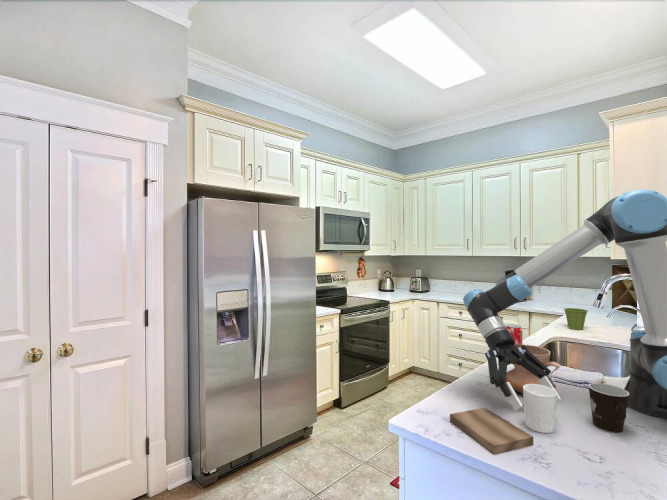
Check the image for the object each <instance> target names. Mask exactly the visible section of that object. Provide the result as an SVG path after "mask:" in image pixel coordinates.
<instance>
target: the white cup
mask: <svg viewBox="0 0 667 500" xmlns="http://www.w3.org/2000/svg"><path fill="white" fill-rule="evenodd" d="M555 390H556V389H555ZM555 390H553V389H552V388H549V387H546V386H543V385H538V384H526V385H524V386H523V393H522V397H523V399H522V400H523V401H522V402H523V404H522V405H523V413H524V424H525V426H526V427H527V428H528V429H530V430H532V431H534V432H538V433H542V434H551V433H553V432H554V430H555V420H556V415H557V414H556V413H557V403H558V401H557V393H558V392H557V390H556V391H555Z"/></svg>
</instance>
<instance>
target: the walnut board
mask: <svg viewBox="0 0 667 500" xmlns="http://www.w3.org/2000/svg"><path fill="white" fill-rule="evenodd" d="M449 422H450V423H452V424H453V425H454V426H455V427H457V428H458V429H459V430H461V431H463V433H465V434H466V435H468V436H469V437H470V438H471V439H473V440H474V441H476V442H477V443H479V444H480V445H481V446H482V447H483V448H485V449H486V450H488V451H489V452H490V453H492V454H493V455H496V454H497V455H498V454H502V453H506V452H510V451H514V450H518V449H523V448H527V447H531V446H533V445H534V436H533V435H531V434H530V433H528V432H526V431H525V430H523V429H522V428H519V427H518V426H517V425H514V424H513V423H511V422H510V421H508V420H507V419H505V418H503V417H501V416H500V415H498V414H497V413H494V412H493V411H491V410H490V409H488V408H487V407H480V408H475V409H470V410H465V411H459V412H455V413H449Z"/></svg>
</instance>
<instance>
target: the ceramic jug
mask: <svg viewBox="0 0 667 500" xmlns="http://www.w3.org/2000/svg"><path fill="white" fill-rule="evenodd" d="M522 345H524V346H525V347H526V348H527V349H528V350H529V352H530V353H531V354H533V355H534V356H535V357H536V358H537V359H538V360H539V361H540V362H542V363H543V364H544V365H545V366H546V367H547V368H548V367H555V368H558V366H559V363H558V362H555V361H550V358H551V351H550V349H548V348H545V347H541V346H538V345H531V344H530V345H529V344H523V343H522V344H515V346H516V347H517V348H520V347H521V346H522ZM520 359H521V358H520ZM498 361H499V359H498V358H497V362H498ZM512 365H513V367H514V368H512V369H511V370H507V374H506V382H509V383H510V384H511V386H512V388H513V390H514V391H515V392H517V393H521V394H523V386H524V385H526V384H538V385H541V384H540V382H539V381H538V380H540V378H538V377H537V376H535V375H534V374H532V373H531V372H529V371H528V370H526V369H525V368H524V367H522V366H521V365H517V364H512ZM539 374H540V373H539ZM548 378H549V379H550V381H551V382H552V384H553V385H554V389H555V390H556V387H557V385H556V383H555V382H554V381H553V380H552V378H550V377H549V376H548ZM506 382H505V383H506Z"/></svg>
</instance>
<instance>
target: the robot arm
mask: <svg viewBox="0 0 667 500" xmlns="http://www.w3.org/2000/svg"><path fill="white" fill-rule="evenodd" d="M613 241H614V243H615V245H617V246H619V247H620V248H622V249H623V250H624V254H625V257H626V261H627V266H628V269H629V272H630V276H631V277H630V278H631V280H632V285H633V288H634V293H635V296H636V299H637V304H638V308H639V312H640V316H641V320H642V323H643V327H644V329H634V330H632V331H631V333H630V338H629V342H630V344H629V345H630V346H629V347H630V348H629V378H628V380H627V382H626V384H625V386H624V388H623V389H624V390H626V391H627V392H629V399H628V405H627V407H629V408H631V409H633V410H635V411H638V412H640V413H643V414H646V415H649V416H653V417H657V418H661V419H667V197H666V196H665V195H663V194H662V193H660V192H657V191H655V190H651V189H636V190H635V189H634V190H630V191H627V192H623V193H622V194H620V195H618V196H615V197H613V198H612V199H610V200H609V201H607V202H606V203H605V204H604V205H603V206H601V208H599V209H598V210H597V211H596V212H594V213H593V214H592V215H590V216H589V217H588V218H586V219H584V220H583V224H582V225H581V226H580V227H578V228H577V229H576V230H574V231H572V232H570V233H569V234H568V235H566V236H565V237H563V238H561V239H560V240H558V241H557V242H555V243H553V245H551V246H549V247H548V248H546V249H545V250H543V251H542V252H540V253H538V254H537V255H536V256H534V257H533V258H531V259H530V260H528V261H527V262H526V263H525V262H524V264H522V265H521V266H519V267H517V268H516V269H515V270H513V271H511V272H509V274H507V275H505V276H503V277H501V278H500V279H498V280H497V282H496V284H495V286H493V287H492V288H490V289H488V290H486V291H484V290H483V289H481V288H475V289H473V290H469V291H468V292H467V293H465V294H464V296H463V299H462V301H463V304H464V305H465V308H466V311H467V312H468V314H469V316H470V317H471V318H472V321H473V323H475V325H476V328H477V330H478V331H479V333H480V334H481V336H482V337H483V339H484V340H485V343H486V345H487V347H488V350H487V351H485V353H484V354H485V355H484V356H485V358H486V360H487V365H488V375H489V382H490V384H491V385H493V386H495V387H497V388H500V390H501V392H502V393H503V395H504V397H505V398H507V400H508V401H509V403H510V405H511V407H512V409H513V411H517V410H519V409H520V408H522V407H524V405H523V404H522V402H521V400H520V398H519V397H518V395H517V394H516V391H515V390H514V389H513V388H512V386H511V384H510V383H509V382H506V374H507V372H508V366H509V365H513V364H517V365H521V366H522V367H524V368H525V369H526V370H528V371H529V372H531V373H532V374H534V375H535V376H537V377H538V378H540V380H538V381H539V382H540V384H541V385H543V386H546V387H549V388H552V389H553V390H555V391H556V392H557V390H556V388H555V389H554V385H553V384H552V382H551V381H550V379H551V378H550V377H549V375H550V374H551V373H552V370H551V369H549V368H548V367H546V366H545V365H544V364H543V363H542V362H540V361H539V360H538V359H537V358H536V357H535V356H534V355H533V354H531V353H530V352H529V350H528V349H527V348H526V347H525V346H524V345H525V344H523V345H522V346H521V347H520V348H517V347H516V346H515V344H514V338H513V337H512V335H511V334H510V332H509V331H508V330H507V325H506V324H505V322H504V321H503V320H502V317H500V315H499V313H500V312H502V311H504V310H506V309H508V308H510V307H511V306H513V305H515V304H517V303H519V302H521V301H524V300H525V299H526V298H528V297H530V296H531V295H532V290H531V288H532V287H534V286H536V285H537V284H539V283H541V282H542V281H543V280H545V279H547V278H549V277H550V276H552V275H553V274H555V273H556V272H558V271H559V270H561V269H563V268H565V267H566V266H568V265H569V264H571V263H573V262H574V261H576V260H577V259H579V258H581V257H582V256H583V255H585V254H588V252H591V251H592V250H593V249H595V248H597V247H598V246H601V245H603V244H605V245H608V244H609V243H612V242H613ZM520 358H521V359H520ZM498 359H499V361H498ZM539 373H540V374H539ZM548 377H549V378H550V379H549V378H548ZM560 400H562V398H561V396H560V394H559V393H558V392H557V402H558V401H560Z"/></svg>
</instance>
